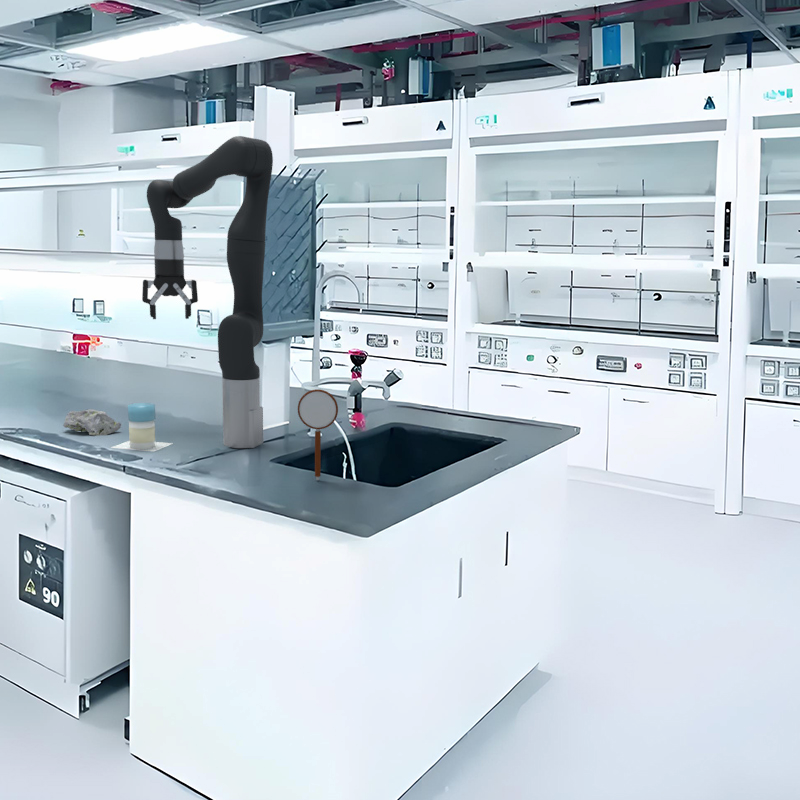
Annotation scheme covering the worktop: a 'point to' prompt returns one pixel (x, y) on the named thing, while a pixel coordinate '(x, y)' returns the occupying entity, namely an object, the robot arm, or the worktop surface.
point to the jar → (142, 435)
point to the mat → (127, 446)
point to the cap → (141, 412)
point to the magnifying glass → (317, 417)
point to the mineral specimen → (91, 422)
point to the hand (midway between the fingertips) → (170, 318)
